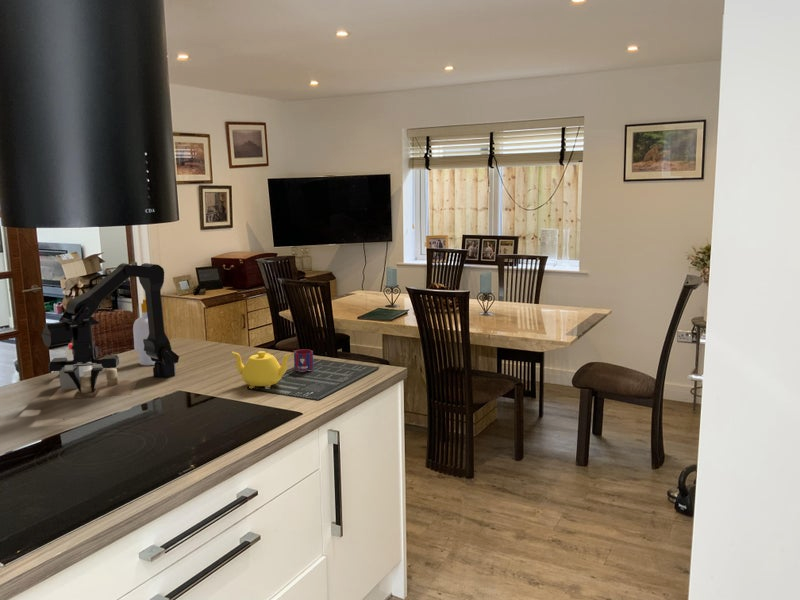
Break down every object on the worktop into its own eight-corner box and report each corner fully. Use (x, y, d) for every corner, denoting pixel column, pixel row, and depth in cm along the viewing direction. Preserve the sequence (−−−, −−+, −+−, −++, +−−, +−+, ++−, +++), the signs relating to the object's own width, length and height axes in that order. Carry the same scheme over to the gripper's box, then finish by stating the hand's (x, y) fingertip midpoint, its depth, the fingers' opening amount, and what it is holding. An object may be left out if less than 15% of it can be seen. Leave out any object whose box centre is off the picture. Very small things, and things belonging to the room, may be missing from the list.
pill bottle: (74, 378, 218) (71, 347, 216) (63, 374, 222) (60, 343, 220) (96, 373, 224) (93, 342, 222) (85, 369, 228) (82, 339, 226)
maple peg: (93, 390, 197) (92, 375, 196) (91, 394, 194) (90, 378, 193) (82, 391, 197) (81, 375, 196) (79, 394, 194) (78, 378, 193)
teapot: (298, 378, 218) (297, 346, 216) (287, 392, 203) (286, 357, 202) (241, 377, 220) (239, 344, 218) (226, 390, 205) (224, 356, 203)
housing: (84, 383, 207) (82, 359, 206) (80, 388, 202) (78, 364, 201) (65, 384, 206) (63, 360, 205) (60, 389, 201) (58, 365, 199)
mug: (293, 372, 225) (292, 354, 224) (297, 365, 235) (296, 347, 234) (312, 372, 225) (311, 354, 224) (315, 365, 235) (315, 347, 234)
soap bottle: (171, 362, 238) (167, 298, 234) (147, 368, 230) (142, 302, 226) (153, 358, 244) (149, 295, 240) (129, 364, 235) (124, 299, 231)
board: (139, 383, 212) (138, 375, 211) (131, 399, 196) (130, 390, 196) (63, 388, 206) (62, 380, 206) (48, 404, 191) (48, 396, 190)
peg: (118, 382, 208) (117, 367, 207) (116, 385, 205) (115, 370, 204) (108, 383, 207) (106, 368, 206) (106, 386, 204) (104, 371, 203)
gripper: (120, 333, 203) (124, 380, 205) (56, 336, 198) (60, 384, 201) (113, 341, 192) (117, 391, 195) (45, 344, 188) (50, 395, 190)
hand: (86, 390), depth 195 cm, fingers closed on maple peg, 3 cm apart
